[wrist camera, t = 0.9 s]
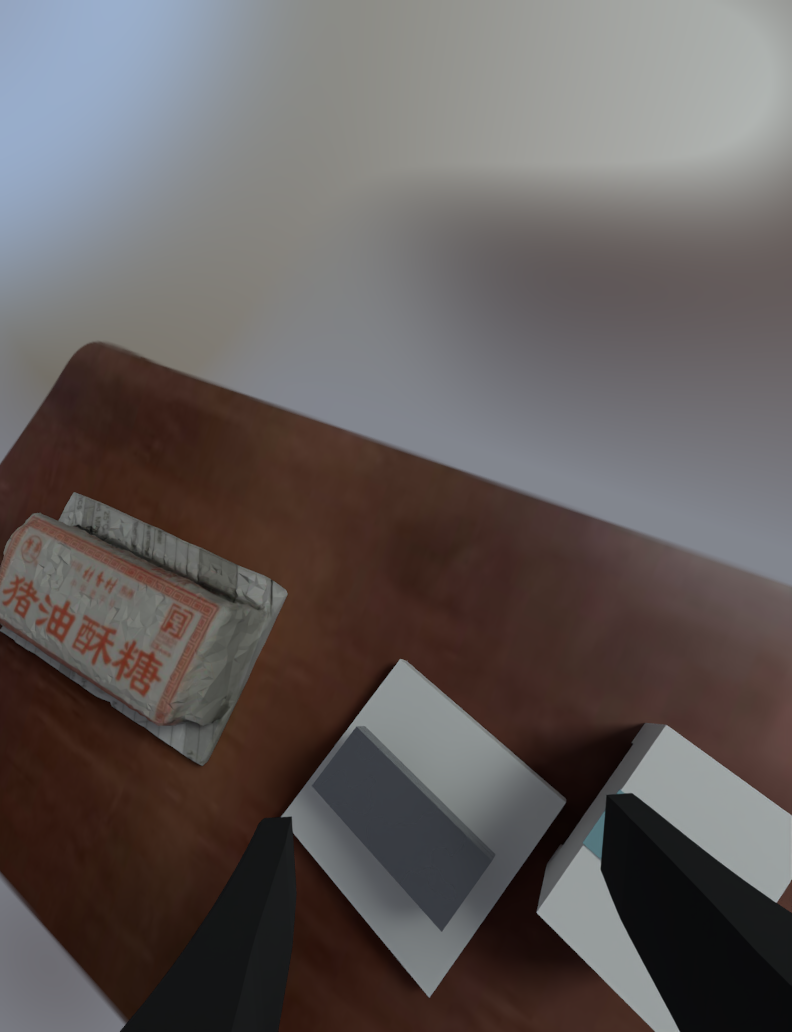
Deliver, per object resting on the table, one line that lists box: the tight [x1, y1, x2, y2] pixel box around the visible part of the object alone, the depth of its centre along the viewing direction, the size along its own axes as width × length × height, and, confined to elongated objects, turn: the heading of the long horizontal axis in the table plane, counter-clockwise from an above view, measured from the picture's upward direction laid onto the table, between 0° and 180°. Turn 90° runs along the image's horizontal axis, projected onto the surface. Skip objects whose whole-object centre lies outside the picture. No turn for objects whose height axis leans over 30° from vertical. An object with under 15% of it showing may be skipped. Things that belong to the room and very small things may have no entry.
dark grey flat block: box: [312, 726, 496, 932], centre depth 21 cm, size 7×3×1 cm, turn 49°
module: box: [536, 723, 792, 1032], centre depth 18 cm, size 5×7×6 cm, turn 139°
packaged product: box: [0, 492, 288, 766], centre depth 30 cm, size 18×5×10 cm
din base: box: [281, 659, 566, 998], centre depth 23 cm, size 9×9×1 cm
